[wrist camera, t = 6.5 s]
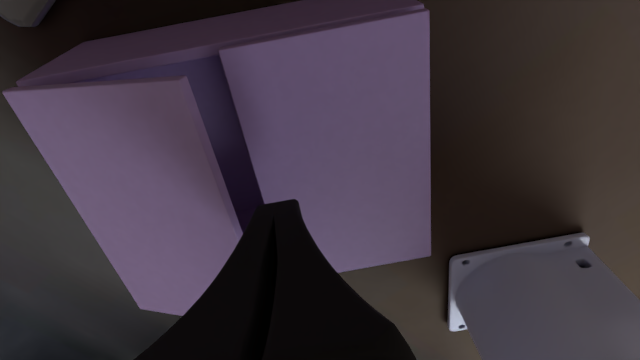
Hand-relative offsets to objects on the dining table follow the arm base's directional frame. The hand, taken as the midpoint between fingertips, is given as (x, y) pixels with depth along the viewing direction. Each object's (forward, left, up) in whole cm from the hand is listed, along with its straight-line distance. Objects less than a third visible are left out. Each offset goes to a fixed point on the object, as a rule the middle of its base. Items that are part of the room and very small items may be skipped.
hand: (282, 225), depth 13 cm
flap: (+5, 0, -2) cm, 5 cm away
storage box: (+1, 0, -9) cm, 9 cm away
